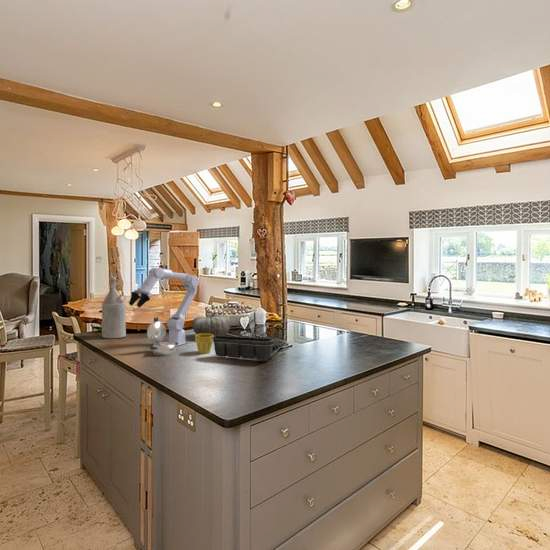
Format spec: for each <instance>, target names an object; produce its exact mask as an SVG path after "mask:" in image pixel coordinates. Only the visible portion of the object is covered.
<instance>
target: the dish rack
mask: <svg viewBox="0 0 550 550" xmlns="http://www.w3.org/2000/svg"><path fill="white" fill-rule="evenodd" d="M280 334H281V333H280V332H278V331H276V332H274V333H273V334H272V335H271V333H270V332H269V330H267V331H265V332H263V333H262V334H261V332H260V331H259V330H256V331H254V332H253V333H251V330H249V329H248V330H245V331H243V332H242V331H241V330H240V329H238V330H235V331H234V332H231V333H230V334H226V335H224V336H213V337H212V339H214V340H213V342H212V343H213V344H214V345H213V346H214V354H215V355H216V356H217V357H224V358H225V357H228V358H237V359H251V360H254V359H257V360H269V359H270V358H271V357H272V356H273V357H274V354H275V353H277V352H278V351H279V350H280V348H281V349H282V347H283V345H284V346H285V345H286V342H287V340H281V336H280ZM273 349H274V351H273Z"/></svg>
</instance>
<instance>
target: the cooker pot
mask: <svg viewBox="0 0 550 550" xmlns="http://www.w3.org/2000/svg"><path fill="white" fill-rule="evenodd" d="M176 345H177V346H179V345H178V343H176V342H175V343H173V342H169V341H161V342H159V343H153V344H152V347H151V346H150V347H149V350H150V351H152V354H153V355H154V356H157V357H158V356H159V357H166V356H167V357H168V356H174V355H175V354H176Z"/></svg>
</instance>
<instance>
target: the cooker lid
mask: <svg viewBox="0 0 550 550" xmlns="http://www.w3.org/2000/svg"><path fill="white" fill-rule="evenodd" d="M166 334H167V329H166V326H165V324H164V323H163V322H161V321H159V316H157V317H154V318H153V321H152V322H151V323H150V324H149V325H148V327H147V330H146V336H147V338H148V341H150V342H151V343H153V344H155V343H159V342H163V340H164V339H165V337H166Z"/></svg>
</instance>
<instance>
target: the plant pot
mask: <svg viewBox="0 0 550 550" xmlns="http://www.w3.org/2000/svg"><path fill="white" fill-rule="evenodd" d="M213 336H214V335H213V334H197V335H196V334H195V335H194V342H195V343H196V347H197V348H196V349H197V353H199V354H202V355H203V354H206V355H207V354H209V353H211V350H212V346H213V343H214V342H213V340H214V339H212V337H213Z"/></svg>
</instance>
